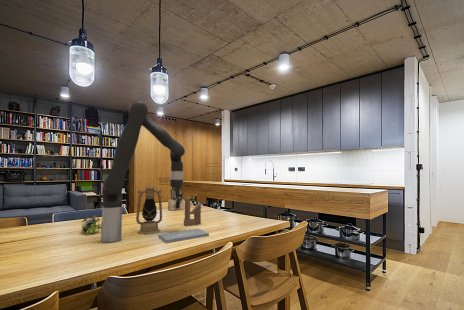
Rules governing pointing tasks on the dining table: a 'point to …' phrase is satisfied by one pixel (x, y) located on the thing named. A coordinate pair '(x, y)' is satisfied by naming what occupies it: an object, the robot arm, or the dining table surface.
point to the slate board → (182, 235)
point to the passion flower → (88, 227)
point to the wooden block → (195, 211)
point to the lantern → (149, 211)
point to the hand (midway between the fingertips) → (176, 207)
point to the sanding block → (173, 205)
